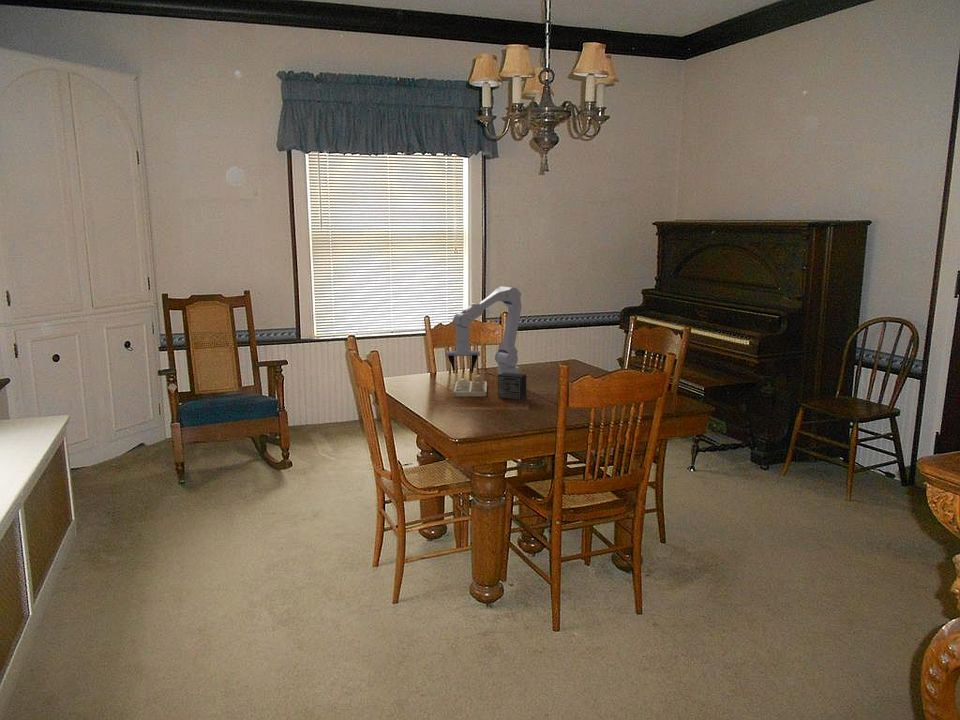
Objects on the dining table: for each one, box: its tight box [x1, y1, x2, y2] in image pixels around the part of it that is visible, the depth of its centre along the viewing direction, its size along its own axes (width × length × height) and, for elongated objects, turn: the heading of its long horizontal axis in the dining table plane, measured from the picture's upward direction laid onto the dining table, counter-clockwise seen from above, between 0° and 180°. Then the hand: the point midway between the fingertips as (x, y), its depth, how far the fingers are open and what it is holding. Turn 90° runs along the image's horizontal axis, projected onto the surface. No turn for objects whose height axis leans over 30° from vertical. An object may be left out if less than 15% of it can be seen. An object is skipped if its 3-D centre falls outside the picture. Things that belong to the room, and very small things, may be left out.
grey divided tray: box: [453, 380, 488, 397], centre depth 306 cm, size 14×20×3 cm
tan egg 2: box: [473, 382, 483, 392], centre depth 300 cm, size 4×4×5 cm
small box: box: [497, 372, 527, 400], centre depth 295 cm, size 11×6×10 cm, turn 65°
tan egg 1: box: [473, 374, 484, 385], centre depth 312 cm, size 4×4×5 cm
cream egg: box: [458, 378, 469, 388], centre depth 306 cm, size 4×4×5 cm
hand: (463, 372), depth 305 cm, fingers open, 7 cm apart
